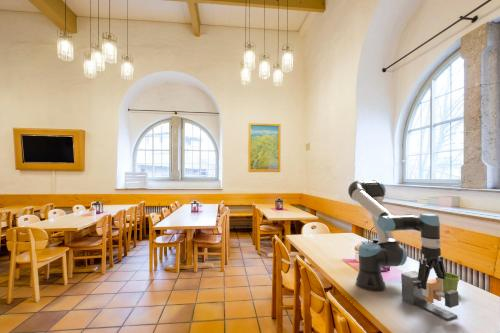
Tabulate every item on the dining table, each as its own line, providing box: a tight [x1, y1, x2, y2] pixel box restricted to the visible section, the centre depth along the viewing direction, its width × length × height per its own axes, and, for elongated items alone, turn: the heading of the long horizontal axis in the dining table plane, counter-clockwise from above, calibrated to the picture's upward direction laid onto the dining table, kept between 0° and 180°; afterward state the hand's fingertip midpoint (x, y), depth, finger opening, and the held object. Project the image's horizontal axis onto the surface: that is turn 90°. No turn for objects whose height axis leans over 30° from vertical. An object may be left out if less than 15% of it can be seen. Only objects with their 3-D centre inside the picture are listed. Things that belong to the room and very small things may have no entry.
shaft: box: [419, 284, 460, 309], centre depth 115 cm, size 15×6×6 cm, turn 21°
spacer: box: [425, 278, 442, 304], centre depth 116 cm, size 3×7×9 cm, turn 111°
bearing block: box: [400, 270, 458, 322], centre depth 118 cm, size 20×10×14 cm, turn 21°
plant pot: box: [443, 271, 461, 293], centre depth 134 cm, size 9×9×9 cm
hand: (432, 293), depth 116 cm, fingers open, 9 cm apart
